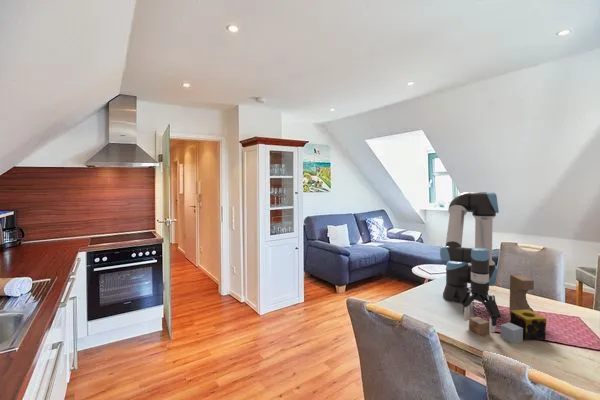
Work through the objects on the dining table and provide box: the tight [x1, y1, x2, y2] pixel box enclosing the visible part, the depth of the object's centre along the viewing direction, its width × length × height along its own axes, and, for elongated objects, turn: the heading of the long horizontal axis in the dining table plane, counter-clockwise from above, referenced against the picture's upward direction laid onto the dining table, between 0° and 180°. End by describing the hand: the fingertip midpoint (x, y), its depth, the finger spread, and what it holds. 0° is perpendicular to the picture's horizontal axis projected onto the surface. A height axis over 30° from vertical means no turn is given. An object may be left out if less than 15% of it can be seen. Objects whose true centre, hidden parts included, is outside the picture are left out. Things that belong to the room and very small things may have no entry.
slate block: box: [499, 322, 524, 344], centre depth 142 cm, size 6×6×6 cm
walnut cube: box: [468, 316, 490, 337], centre depth 148 cm, size 6×6×6 cm
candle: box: [509, 309, 547, 341], centre depth 145 cm, size 10×10×10 cm
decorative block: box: [509, 273, 535, 312], centre depth 166 cm, size 11×6×20 cm, turn 177°
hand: (479, 325), depth 148 cm, fingers open, 13 cm apart
